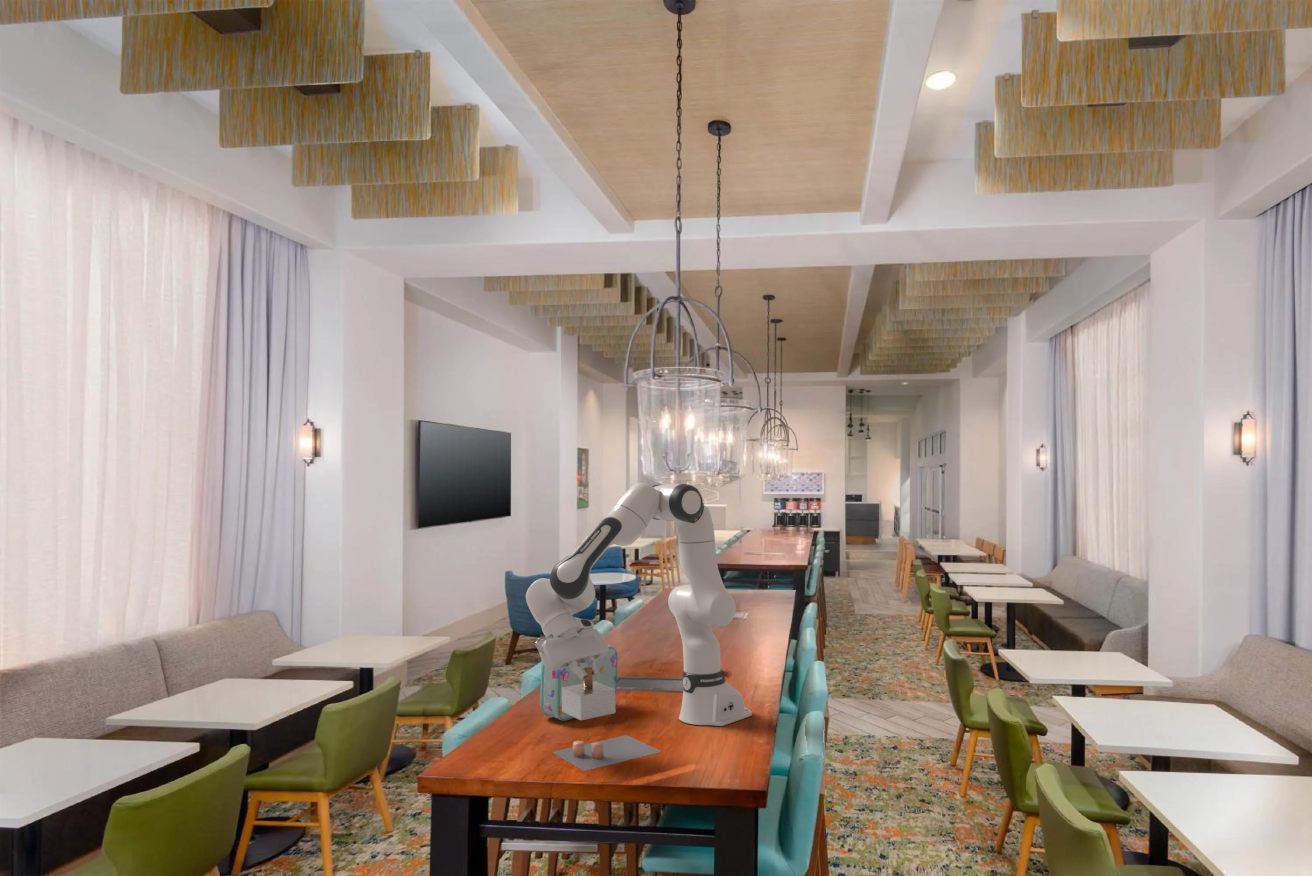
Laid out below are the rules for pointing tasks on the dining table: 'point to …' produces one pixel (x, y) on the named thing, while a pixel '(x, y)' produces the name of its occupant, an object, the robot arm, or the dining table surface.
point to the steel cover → (588, 698)
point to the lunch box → (573, 683)
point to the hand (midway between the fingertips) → (589, 675)
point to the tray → (605, 752)
